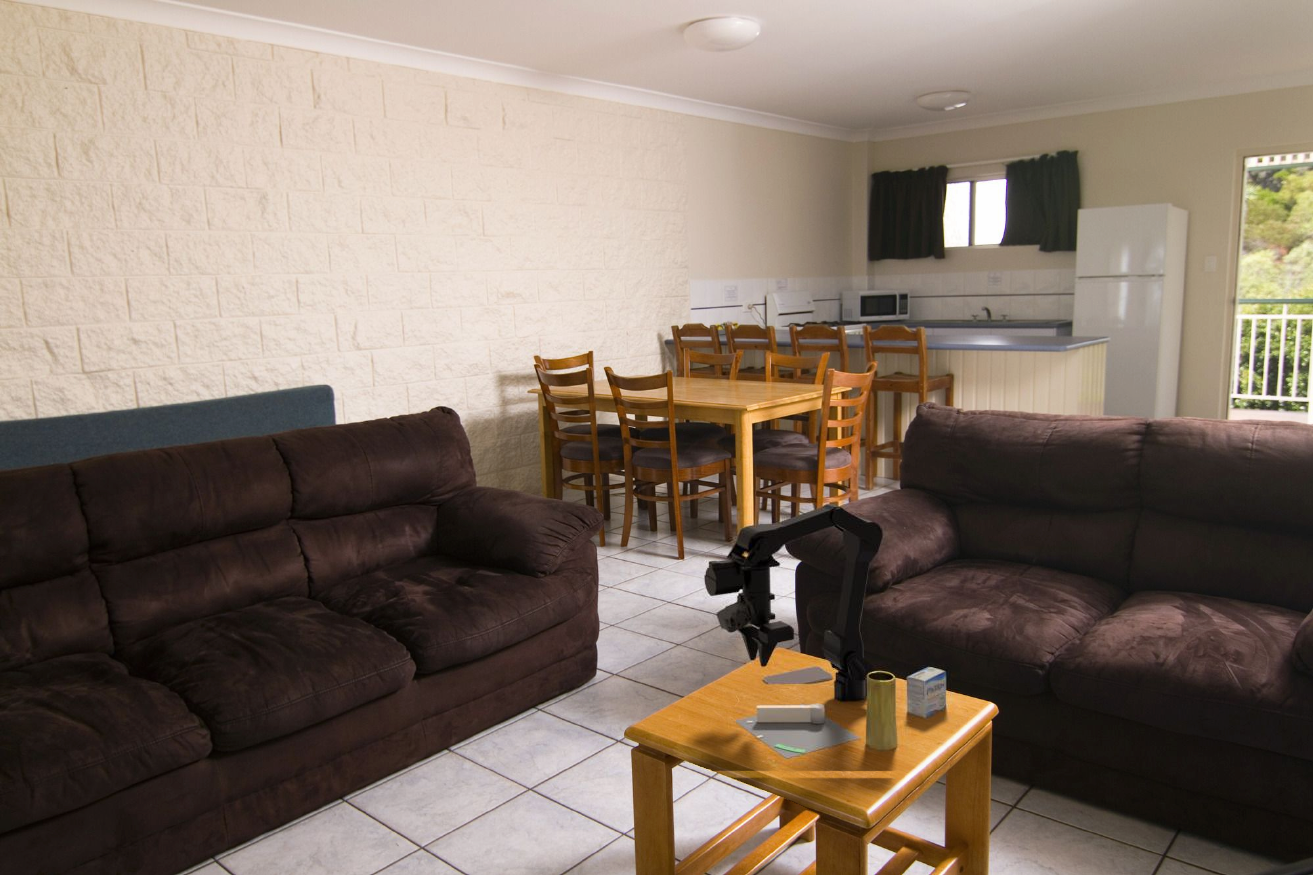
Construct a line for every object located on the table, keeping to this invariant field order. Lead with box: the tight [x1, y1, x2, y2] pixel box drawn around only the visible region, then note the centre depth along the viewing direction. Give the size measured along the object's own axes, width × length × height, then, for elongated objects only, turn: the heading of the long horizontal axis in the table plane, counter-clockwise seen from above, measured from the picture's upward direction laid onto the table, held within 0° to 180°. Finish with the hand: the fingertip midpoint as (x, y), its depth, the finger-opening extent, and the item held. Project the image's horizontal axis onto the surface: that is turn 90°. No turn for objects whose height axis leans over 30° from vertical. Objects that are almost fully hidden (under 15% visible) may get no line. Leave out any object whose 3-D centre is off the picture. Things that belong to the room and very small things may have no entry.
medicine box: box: [906, 666, 947, 719], centre depth 188 cm, size 8×4×9 cm, turn 131°
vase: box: [865, 670, 899, 751], centre depth 173 cm, size 6×6×14 cm
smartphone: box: [762, 665, 834, 685], centre depth 209 cm, size 7×1×15 cm
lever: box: [756, 703, 826, 724], centre depth 184 cm, size 14×3×3 cm, turn 86°
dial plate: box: [734, 703, 861, 760], centre depth 181 cm, size 17×19×1 cm
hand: (758, 663), depth 187 cm, fingers open, 4 cm apart
